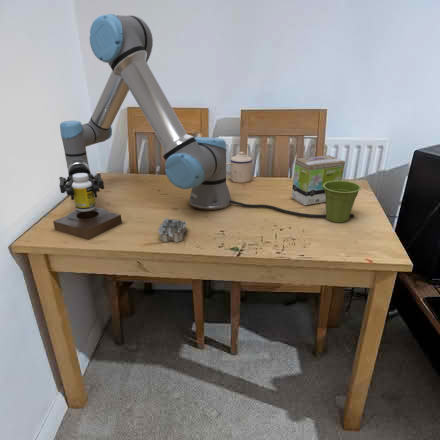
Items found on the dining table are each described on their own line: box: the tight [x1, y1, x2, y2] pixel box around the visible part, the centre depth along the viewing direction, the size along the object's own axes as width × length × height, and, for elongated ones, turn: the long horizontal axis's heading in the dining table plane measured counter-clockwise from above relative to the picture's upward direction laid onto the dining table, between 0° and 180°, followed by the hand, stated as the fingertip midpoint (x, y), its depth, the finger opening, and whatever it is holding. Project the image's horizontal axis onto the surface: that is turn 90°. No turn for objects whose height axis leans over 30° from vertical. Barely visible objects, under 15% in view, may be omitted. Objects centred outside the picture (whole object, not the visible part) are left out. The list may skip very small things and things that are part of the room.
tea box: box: [291, 154, 346, 206], centre depth 150 cm, size 15×10×15 cm, turn 114°
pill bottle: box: [72, 173, 97, 212], centre depth 131 cm, size 6×6×11 cm
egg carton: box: [157, 217, 187, 243], centre depth 126 cm, size 11×8×4 cm
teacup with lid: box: [226, 151, 253, 184], centre depth 172 cm, size 12×9×12 cm
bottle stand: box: [52, 207, 123, 241], centre depth 134 cm, size 16×16×3 cm
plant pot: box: [323, 180, 362, 223], centre depth 135 cm, size 12×12×11 cm
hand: (83, 194), depth 126 cm, fingers closed on pill bottle, 6 cm apart
